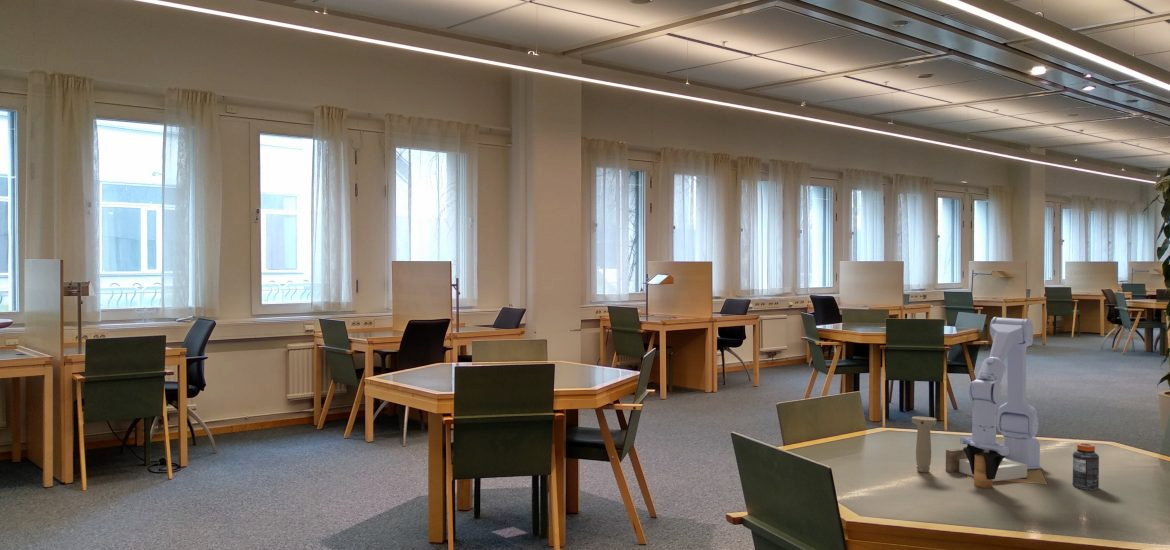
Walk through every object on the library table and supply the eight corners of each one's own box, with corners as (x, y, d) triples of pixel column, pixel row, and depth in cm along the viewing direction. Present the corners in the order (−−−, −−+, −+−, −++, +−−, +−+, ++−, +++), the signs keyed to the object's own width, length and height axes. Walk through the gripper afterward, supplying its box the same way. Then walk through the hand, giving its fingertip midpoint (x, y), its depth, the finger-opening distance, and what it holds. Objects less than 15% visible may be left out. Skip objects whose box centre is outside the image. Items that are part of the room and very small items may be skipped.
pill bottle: (1095, 485, 226) (1096, 442, 226) (1101, 491, 221) (1102, 447, 221) (1070, 483, 228) (1071, 440, 228) (1074, 488, 223) (1075, 445, 222)
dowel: (983, 482, 228) (983, 453, 228) (996, 487, 224) (996, 456, 224) (970, 484, 227) (970, 454, 227) (983, 488, 223) (983, 458, 222)
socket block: (994, 467, 244) (995, 455, 244) (1026, 477, 234) (1027, 464, 234) (959, 471, 240) (959, 459, 240) (990, 481, 229) (990, 468, 229)
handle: (933, 475, 236) (934, 421, 236) (909, 471, 240) (910, 418, 239) (937, 471, 240) (937, 418, 240) (913, 468, 244) (913, 415, 243)
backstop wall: (997, 465, 247) (997, 444, 247) (1003, 466, 245) (1003, 445, 245) (945, 470, 241) (945, 449, 241) (950, 472, 239) (951, 451, 239)
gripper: (951, 421, 230) (950, 471, 231) (994, 432, 217) (993, 485, 217) (972, 419, 233) (971, 468, 233) (1015, 430, 219) (1014, 482, 220)
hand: (983, 476), depth 225 cm, fingers closed on dowel, 4 cm apart
